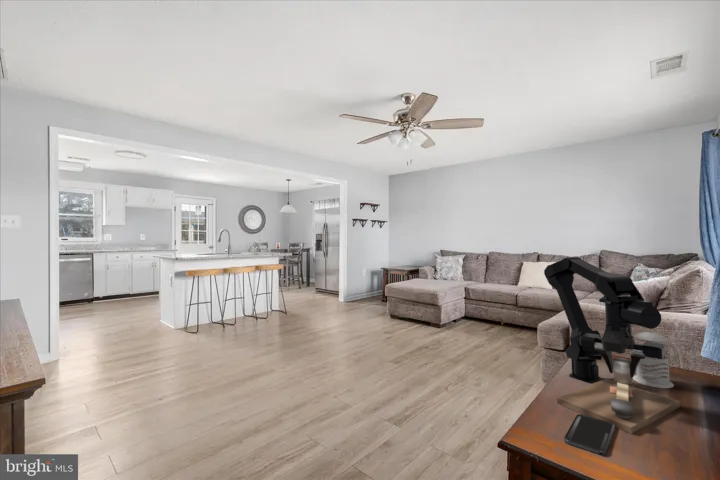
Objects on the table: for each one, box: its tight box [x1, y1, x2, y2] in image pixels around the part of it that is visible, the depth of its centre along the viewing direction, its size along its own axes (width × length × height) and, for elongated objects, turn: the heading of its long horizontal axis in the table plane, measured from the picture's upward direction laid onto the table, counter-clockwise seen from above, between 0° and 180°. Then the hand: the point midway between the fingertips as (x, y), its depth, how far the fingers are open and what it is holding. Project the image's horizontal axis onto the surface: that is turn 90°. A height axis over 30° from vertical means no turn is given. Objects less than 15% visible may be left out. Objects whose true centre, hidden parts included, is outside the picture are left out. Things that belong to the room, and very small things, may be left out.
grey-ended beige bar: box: [611, 357, 634, 416], centre depth 88 cm, size 20×4×8 cm, turn 141°
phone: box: [564, 413, 616, 457], centre depth 78 cm, size 8×1×15 cm
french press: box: [632, 329, 680, 389], centre depth 105 cm, size 10×12×25 cm
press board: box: [556, 378, 681, 435], centre depth 91 cm, size 18×25×2 cm
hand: (621, 375), depth 95 cm, fingers open, 4 cm apart
